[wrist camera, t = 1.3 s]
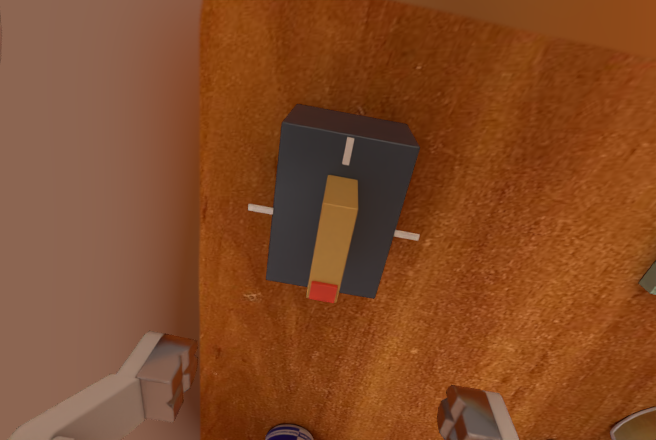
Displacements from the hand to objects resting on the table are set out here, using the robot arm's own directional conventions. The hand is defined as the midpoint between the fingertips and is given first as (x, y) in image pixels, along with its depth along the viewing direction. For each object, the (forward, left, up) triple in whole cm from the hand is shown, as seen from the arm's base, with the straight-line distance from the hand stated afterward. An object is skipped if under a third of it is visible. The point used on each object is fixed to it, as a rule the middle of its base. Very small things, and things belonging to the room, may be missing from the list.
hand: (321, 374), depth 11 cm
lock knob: (0, 0, -10) cm, 10 cm away
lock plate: (0, 0, -15) cm, 15 cm away
